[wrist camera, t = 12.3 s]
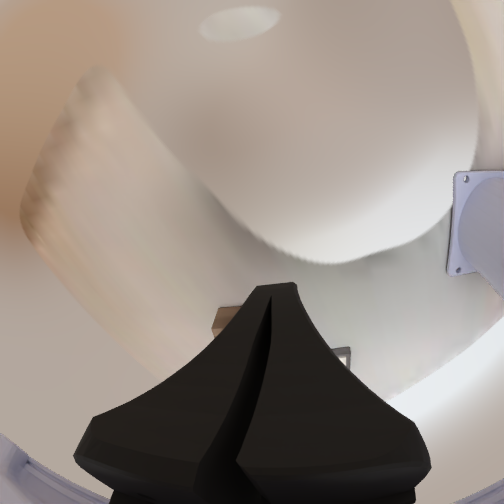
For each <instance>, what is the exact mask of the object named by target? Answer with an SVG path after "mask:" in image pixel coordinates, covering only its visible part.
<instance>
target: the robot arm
mask: <svg viewBox="0 0 504 504" xmlns="http://www.w3.org/2000/svg"><path fill="white" fill-rule="evenodd" d="M465 176H466V181H464V177H465ZM457 268H459V269H458V270H457ZM456 270H457V271H456ZM477 271H478V272H479V273H480V274H481V276H482V277H483V278H484V279H485V280H486V281H487V282H488V283H489V284H490V285H491V287H492V288H493V289H494V290H495V291H496V292H497V293H498V295H499V296H500V297H501V298H502V299H503V300H504V171H458V172H456V173H455V174H454V177H453V213H452V228H451V240H450V249H449V258H448V265H447V273H448V275H449V276H452V277H453V276H458V275H463V274H468V273H472V272H477ZM73 456H74V459H75V462H76V463H77V464H78V465H79V466H80V467H81V468H82V469H84V470H85V471H86V472H88V473H89V474H91V475H92V476H93V477H95V478H96V479H98V480H99V481H101V482H102V483H104V484H105V485H107V486H108V487H110V488H112V489H113V490H114V491H113V494H112V496H111V499H108V498H105V497H103V496H101V495H98V494H96V493H94V492H92V491H90V490H87V489H85V488H83V487H81V486H79V485H77V484H75V483H73V482H71V481H69V480H67V479H66V478H64V477H62V476H60V475H59V474H57V473H55V472H53V471H51V470H50V469H48V468H47V467H45V466H43V465H42V464H40V463H39V462H37V461H36V460H34V459H32V458H31V457H29V456H28V454H27V453H25V452H24V451H23V450H22V449H21V448H19V447H18V446H17V445H16V444H14V443H13V442H12V441H11V440H9V439H8V438H7V437H5V436H4V435H3V434H2V433H0V504H414V503H415V501H416V496H415V488H414V487H416V485H418V484H419V483H420V482H421V480H423V479H424V478H425V477H426V475H427V474H428V472H429V471H430V469H431V463H430V456H429V453H428V450H427V447H426V445H425V442H424V440H423V438H422V436H421V434H420V432H419V430H418V428H417V427H416V425H415V423H414V422H413V421H411V420H410V419H408V418H407V417H405V416H404V415H402V414H401V413H399V412H398V411H397V410H395V409H394V408H393V407H391V406H390V405H388V404H387V403H386V402H385V401H383V400H382V399H381V398H380V397H378V396H377V395H376V394H375V393H374V392H372V391H371V390H370V389H369V388H368V387H367V386H366V385H365V384H364V383H362V382H361V381H360V380H359V379H358V378H357V377H356V376H355V375H354V374H353V373H352V372H351V371H350V370H349V369H348V368H347V367H346V366H345V365H344V364H343V363H342V361H341V360H340V359H339V358H338V357H337V356H336V355H335V353H334V352H333V351H332V350H331V349H330V347H329V346H328V345H327V343H326V342H325V341H324V339H323V338H322V336H321V335H320V334H319V332H318V331H317V329H316V328H315V326H314V324H313V323H312V321H311V319H310V317H309V316H308V314H307V312H306V310H305V308H304V306H303V304H302V302H301V300H300V297H299V294H298V290H297V285H296V284H295V283H294V282H289V283H280V284H270V285H261V286H256V288H255V289H254V290H253V291H252V293H251V294H250V295H249V297H248V298H247V300H246V301H245V302H244V304H243V305H242V306H241V308H240V309H239V310H238V312H237V313H236V314H235V315H234V317H233V318H232V319H231V320H230V322H229V323H228V324H227V325H226V326H225V328H224V329H223V330H222V331H221V332H220V333H219V334H218V335H217V336H216V337H215V339H214V340H213V341H212V342H211V343H210V344H209V345H208V346H207V347H206V348H205V349H204V350H203V351H202V352H200V353H199V354H198V355H197V356H196V357H195V358H194V359H192V360H191V361H190V362H189V363H188V364H186V365H185V366H184V367H182V368H181V369H180V370H178V371H177V372H176V373H174V374H173V375H172V376H170V377H169V378H167V379H166V380H165V381H163V382H162V383H160V384H159V385H157V386H155V387H154V388H152V389H151V390H149V391H147V392H146V393H144V394H142V395H140V396H138V397H137V398H135V399H133V400H131V401H129V402H127V403H125V404H123V405H121V406H118V407H116V408H114V409H112V410H109V411H107V412H105V413H102V414H100V415H97V416H95V417H93V418H92V420H91V422H90V424H89V426H88V427H87V429H86V431H85V433H84V435H83V437H82V439H81V441H80V443H79V445H78V447H77V449H76V451H75V453H74V455H73ZM451 504H504V478H503V479H502V480H500V481H498V482H496V483H495V484H493V485H491V486H489V487H487V488H485V489H483V490H481V491H479V492H477V493H474V494H472V495H470V496H468V497H466V498H463V499H461V500H459V501H456V502H454V503H451Z"/></svg>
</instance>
